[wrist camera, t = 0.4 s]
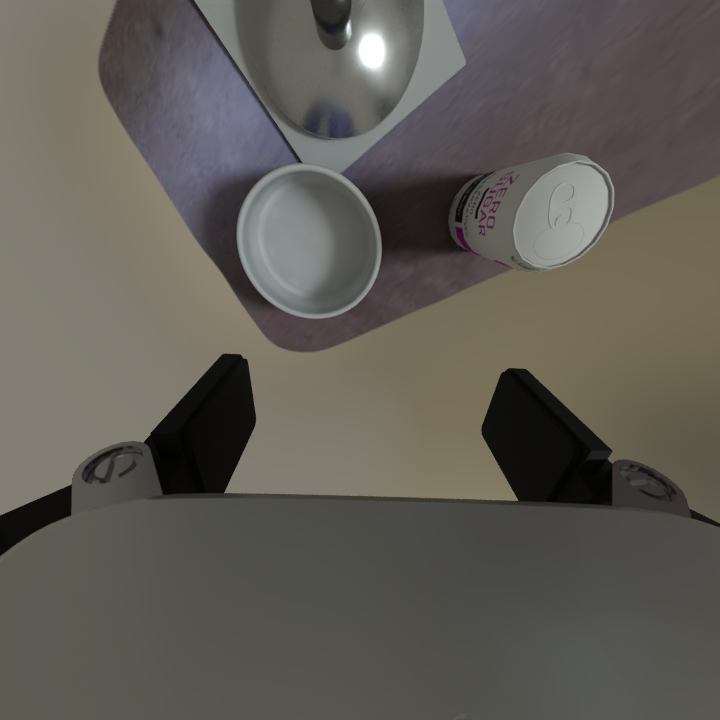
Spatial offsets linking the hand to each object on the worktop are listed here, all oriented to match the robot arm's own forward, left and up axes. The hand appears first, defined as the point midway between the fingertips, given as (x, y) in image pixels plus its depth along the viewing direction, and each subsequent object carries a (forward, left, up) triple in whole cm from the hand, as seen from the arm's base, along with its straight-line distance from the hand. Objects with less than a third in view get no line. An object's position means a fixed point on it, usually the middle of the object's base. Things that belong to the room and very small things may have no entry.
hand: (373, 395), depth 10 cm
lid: (-10, -18, -28) cm, 35 cm away
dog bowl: (+3, -5, -29) cm, 29 cm away
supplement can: (-15, +4, -29) cm, 33 cm away
